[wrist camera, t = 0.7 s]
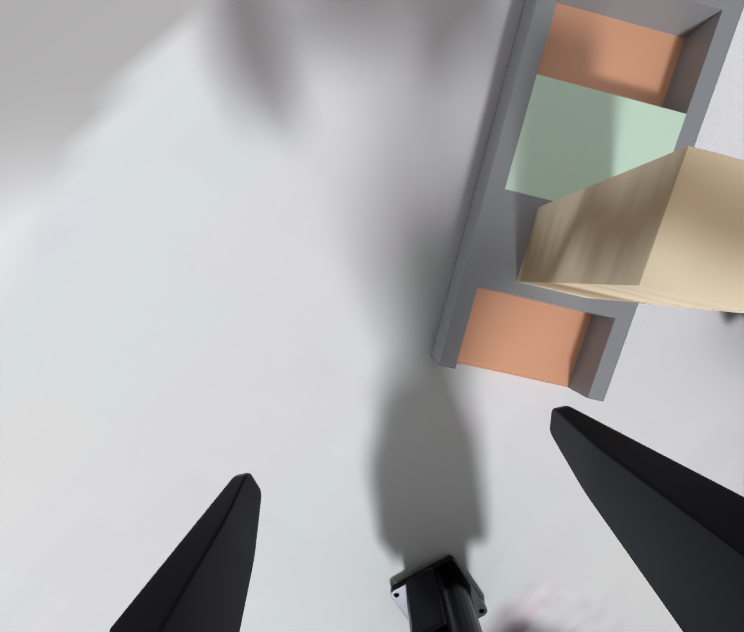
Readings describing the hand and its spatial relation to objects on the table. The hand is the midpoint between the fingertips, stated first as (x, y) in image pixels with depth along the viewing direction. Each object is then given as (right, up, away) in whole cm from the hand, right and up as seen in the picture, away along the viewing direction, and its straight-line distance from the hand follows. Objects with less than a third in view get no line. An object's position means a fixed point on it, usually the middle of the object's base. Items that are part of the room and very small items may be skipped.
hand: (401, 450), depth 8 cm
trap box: (+13, +12, +13) cm, 22 cm away
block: (+12, +8, +11) cm, 18 cm away
